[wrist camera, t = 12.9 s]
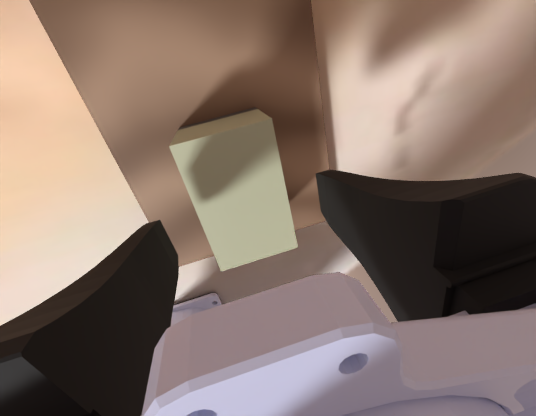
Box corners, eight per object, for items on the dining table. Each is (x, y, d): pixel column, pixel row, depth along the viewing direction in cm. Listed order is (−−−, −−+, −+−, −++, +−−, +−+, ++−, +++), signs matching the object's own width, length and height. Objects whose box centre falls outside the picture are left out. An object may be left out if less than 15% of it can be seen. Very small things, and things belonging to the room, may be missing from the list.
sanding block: (279, 211, 21) (298, 247, 16) (218, 229, 20) (221, 271, 16) (255, 107, 17) (271, 118, 12) (179, 127, 16) (168, 146, 12)
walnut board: (327, 210, 23) (334, 218, 22) (175, 256, 22) (173, 268, 21) (294, -58, 15) (302, -71, 13) (41, -2, 14) (23, -11, 12)
